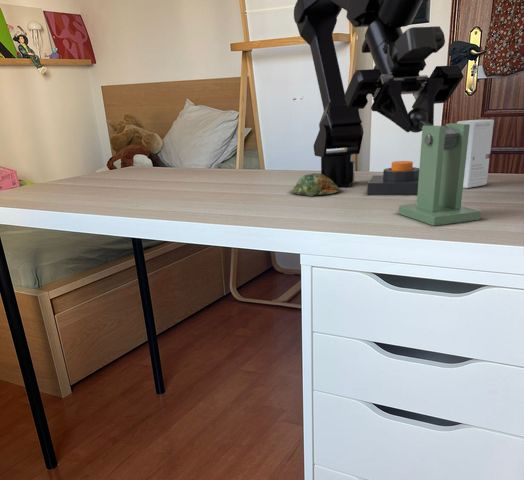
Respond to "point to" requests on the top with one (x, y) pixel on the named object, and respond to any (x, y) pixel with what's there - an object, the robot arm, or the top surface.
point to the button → (402, 166)
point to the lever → (421, 118)
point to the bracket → (441, 179)
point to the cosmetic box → (478, 152)
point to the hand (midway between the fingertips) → (420, 129)
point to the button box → (394, 183)
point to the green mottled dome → (315, 185)
